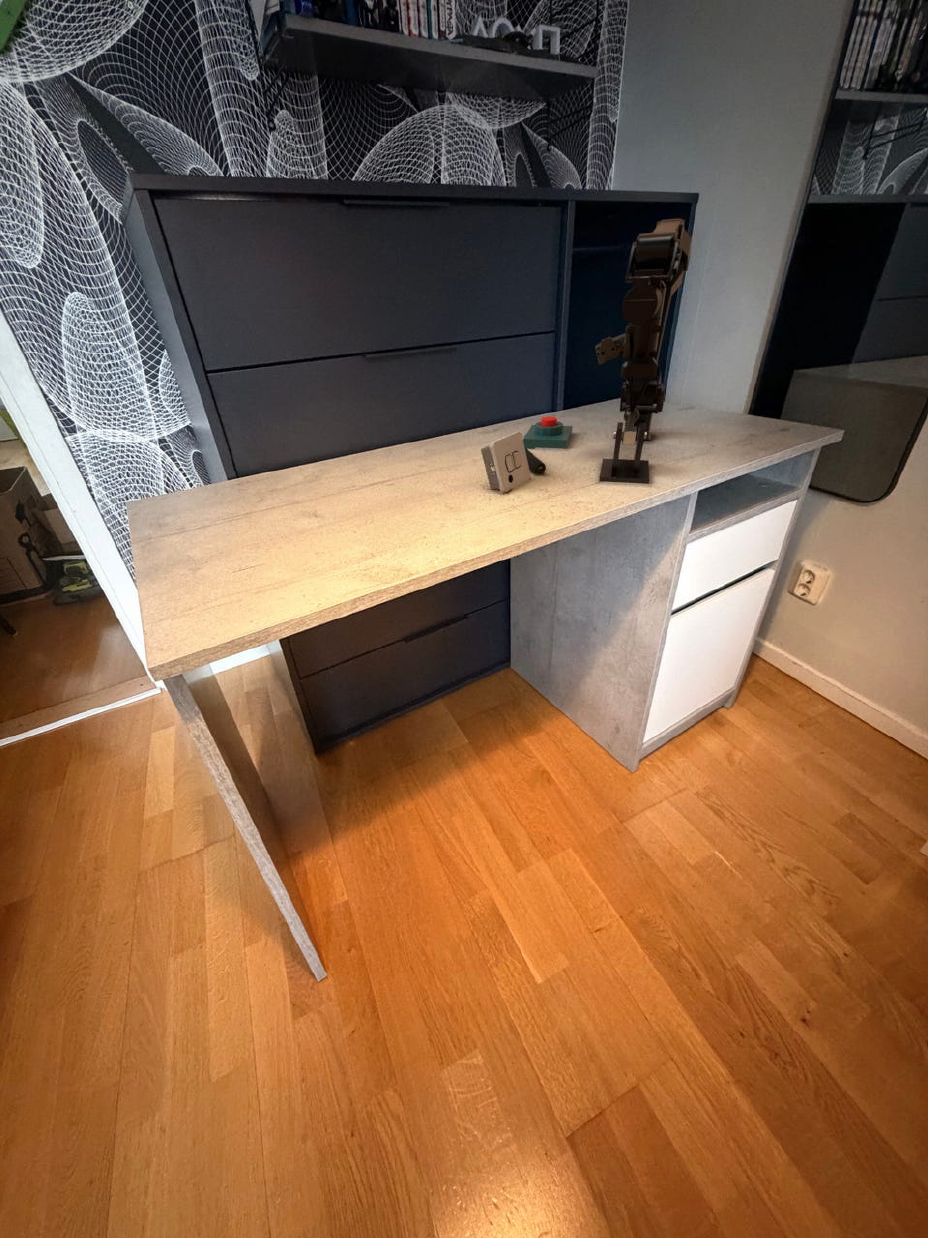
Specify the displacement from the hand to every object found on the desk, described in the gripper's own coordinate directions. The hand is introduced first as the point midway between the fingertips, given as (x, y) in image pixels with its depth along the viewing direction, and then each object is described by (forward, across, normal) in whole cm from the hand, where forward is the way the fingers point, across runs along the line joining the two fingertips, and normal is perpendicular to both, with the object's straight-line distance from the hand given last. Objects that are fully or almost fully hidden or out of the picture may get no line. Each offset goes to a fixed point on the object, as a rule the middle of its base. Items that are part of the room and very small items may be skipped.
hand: (632, 407), depth 100 cm
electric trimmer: (+10, +8, -20) cm, 24 cm away
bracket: (+10, +11, 0) cm, 15 cm away
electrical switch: (+10, +20, -22) cm, 31 cm away
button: (+6, -9, -18) cm, 21 cm away
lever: (+3, +5, 0) cm, 6 cm away
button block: (+10, -9, -18) cm, 22 cm away
